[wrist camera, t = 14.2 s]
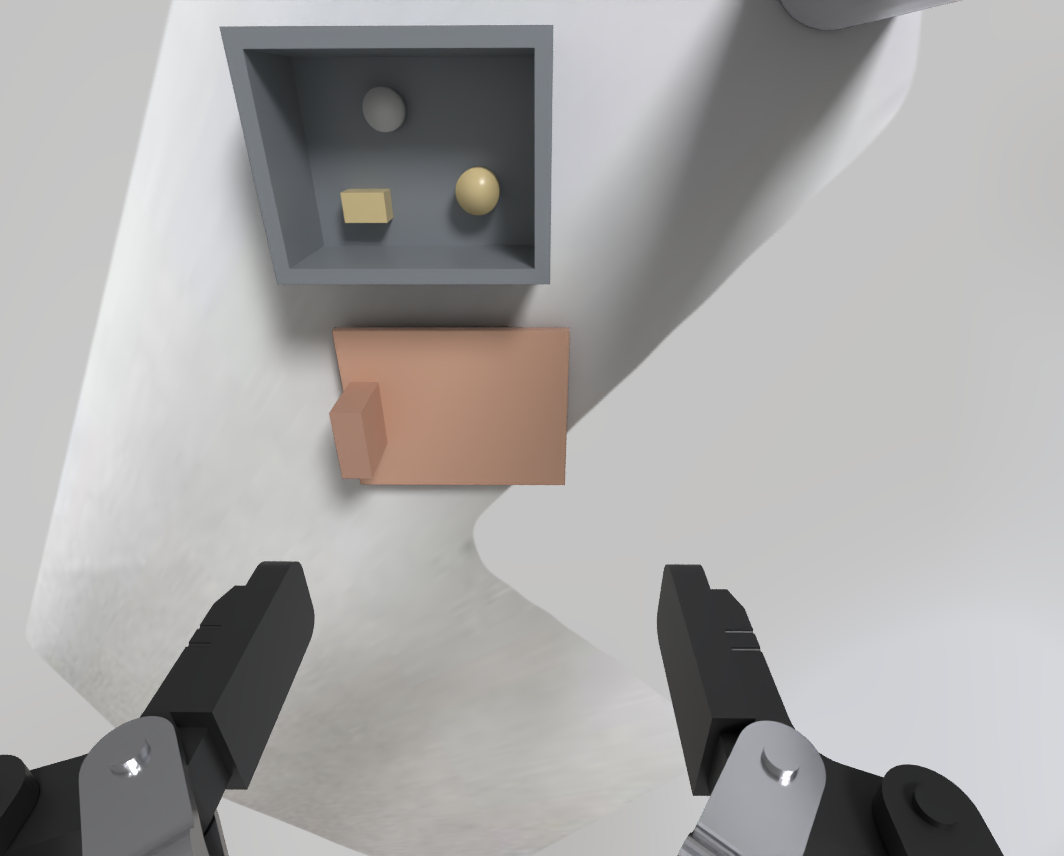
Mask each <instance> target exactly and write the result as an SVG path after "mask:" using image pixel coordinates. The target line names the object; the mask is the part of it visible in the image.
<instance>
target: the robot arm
mask: <svg viewBox="0 0 1064 856" xmlns="http://www.w3.org/2000/svg"><path fill="white" fill-rule="evenodd" d="M780 1H781V3H782V4H783V6H784V8H785V9H786V10H787V11H788V12H789V13H790V14H791V15H792V16H793V17H794V18H795V19H796V20H797V21H799V22H801V23H803V24H804V25H806V26H808V27H812V28H816V29H820V30H838V29H842V28H846V27H850V26H855V25H859V24H863V23H868V22H873V21H877V20H882V19H886V18H890V17H894V16H898V15H903V14H907V13H911V12H915V11H919V10H923V9H927V8H931V7H936V6H940V5H944V4H948V3H952V2H957V1H960V0H780ZM313 628H314V609H313V605H312V601H311V598H310V594H309V590H308V587H307V583H306V579H305V576H304V572H303V568H302V566H301V564H300V563H299V562H287V561H264V562H261V563H260V564H259V565H258V566H257V568H256V569H255V571H254V573H253V574H252V576H251V578H250V579H249V581H248V583H247V584H246V586H234V587H233V588H232V589H231V590H229V591H228V592H227V593H226V594H225V595H223V596H222V597H221V598H220V599H219V600H218V601H216V602H215V603H214V604H213V606H212V607H211V609H210V610H209V612H208V613H207V615H206V617H205V618H204V620H203V621H202V623H201V624H200V629H197V630H196V632H195V634H194V635H193V637H192V638H191V640H190V641H189V646H188V647H185V649H184V651H183V652H182V654H181V655H180V657H179V658H178V660H177V661H176V663H175V664H174V666H173V668H172V669H171V671H170V672H169V674H168V675H167V677H166V678H165V680H164V681H163V683H162V685H161V686H160V688H159V689H158V691H157V692H156V694H155V695H154V697H153V698H152V700H151V702H150V703H149V705H148V706H147V708H146V709H145V711H144V712H143V714H142V715H141V716H140V718H137V719H134V720H131V721H129V722H126V723H124V724H122V725H120V726H119V727H117V728H115V729H114V730H112V731H111V732H109V733H108V734H107V735H105V736H104V737H103V738H102V739H101V740H100V741H99V742H98V743H97V744H96V745H95V746H94V747H93V748H92V749H91V751H90V752H89V753H88V754H85V755H82V756H79V757H75V758H72V759H68V760H65V761H61V762H58V763H54V764H51V765H47V766H44V767H40V768H37V769H33V770H30V771H29V769H28V768H27V767H26V765H25V764H24V763H23V762H22V760H21V759H19V758H18V757H16V756H12V755H0V856H229V855H228V851H227V847H226V843H225V839H224V835H223V831H222V827H221V823H220V819H219V815H218V812H217V810H216V808H217V806H218V804H219V802H220V800H221V797H222V795H223V793H224V791H225V789H244V790H247V789H248V786H249V784H250V782H251V779H252V777H253V774H254V772H255V770H256V767H257V765H258V763H259V760H260V758H261V756H262V753H263V751H264V748H265V746H266V744H267V741H268V739H269V737H270V734H271V732H272V730H273V727H274V725H275V722H276V720H277V718H278V715H279V713H280V711H281V708H282V706H283V704H284V701H285V699H286V697H287V694H288V692H289V689H290V687H291V685H292V682H293V680H294V678H295V675H296V673H297V671H298V668H299V666H300V663H301V661H302V659H303V656H304V654H305V652H306V649H307V647H308V645H309V642H310V640H311V637H312V633H313ZM657 632H658V640H659V645H660V650H661V654H662V659H663V663H664V667H665V672H666V677H667V681H668V685H669V690H670V695H671V699H672V704H673V708H674V713H675V717H676V722H677V726H678V731H679V735H680V740H681V744H682V749H683V753H684V758H685V762H686V767H687V771H688V776H689V780H690V785H691V789H692V794H693V796H710V798H709V800H708V802H707V804H706V807H705V809H704V811H703V813H702V815H701V817H700V819H699V821H698V823H697V825H696V827H695V829H694V831H693V832H692V833H690V834H689V835H688V837H687V838H686V840H685V842H684V844H683V845H682V847H681V849H680V851H679V854H678V855H677V856H1004V855H1003V854H1002V852H1001V850H1000V848H999V846H998V845H997V843H996V841H995V839H994V837H993V836H992V834H991V832H990V830H989V829H988V827H987V825H986V823H985V822H984V820H983V818H982V816H981V814H980V813H979V811H978V810H977V808H976V806H975V805H974V804H973V802H972V801H971V800H970V799H969V798H968V796H967V795H966V794H965V793H964V792H963V791H962V790H961V789H960V788H959V787H957V786H956V785H955V784H954V783H952V782H951V781H950V780H948V779H947V778H945V777H944V776H942V775H940V774H938V773H936V772H935V771H932V770H930V769H927V768H924V767H921V766H917V765H899V766H896V767H894V768H892V769H890V770H889V771H888V772H887V773H886V775H885V776H884V778H883V777H880V776H877V775H874V774H871V773H867V772H864V771H861V770H858V769H855V768H852V767H849V766H846V765H843V764H840V763H838V762H835V761H832V760H831V759H829V758H827V757H825V756H823V755H822V754H820V753H818V751H817V750H816V749H815V747H814V746H813V745H812V744H811V742H810V741H809V740H808V739H807V738H806V737H804V736H803V735H802V734H801V733H799V732H798V731H796V730H795V728H794V727H793V725H792V724H791V721H790V719H789V717H788V715H787V712H786V710H785V707H784V705H783V702H782V700H781V697H780V695H779V693H778V690H777V688H776V685H775V683H774V680H773V678H772V675H771V673H770V670H769V668H768V666H767V663H766V660H765V658H764V656H763V653H762V652H761V651H760V646H759V643H758V641H757V638H756V636H755V634H753V628H752V626H751V624H750V621H749V619H748V616H747V614H746V611H745V609H744V608H743V606H742V605H741V604H740V603H739V602H738V601H737V600H736V599H735V598H734V597H733V596H732V594H730V592H729V591H728V590H725V589H722V590H721V589H718V590H717V589H710V586H709V584H708V581H707V578H706V575H705V572H704V570H703V568H702V566H701V565H665V568H664V572H663V579H662V585H661V592H660V599H659V605H658V613H657Z"/></svg>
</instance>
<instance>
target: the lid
mask: <svg viewBox="0 0 1064 856" xmlns="http://www.w3.org/2000/svg"><path fill="white" fill-rule="evenodd" d="M332 332H333V338H334V343H335V349H336V354H337V359H338V365H339V370H340V376H341V381H342V386H343V393H342V395H341V396H340V398H339V399H338V401H337V402H336V404H335V405H334V407H333V408H332V410H331V411H330V413H329V414H330V419H331V424H332V429H333V434H334V439H335V444H336V449H337V454H338V459H339V464H340V469H341V473H342V478H360V484H392V485H565V464H566V461H565V460H566V432H567V400H568V368H569V336H570V330H569V328H334V329H333V331H332Z"/></svg>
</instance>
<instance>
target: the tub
mask: <svg viewBox="0 0 1064 856" xmlns="http://www.w3.org/2000/svg"><path fill="white" fill-rule="evenodd" d="M220 31H221V36H222V40H223V45H224V49H225V53H226V58H227V62H228V67H229V71H230V76H231V80H232V84H233V89H234V93H235V98H236V102H237V107H238V111H239V115H240V120H241V124H242V129H243V133H244V138H245V142H246V146H247V151H248V155H249V160H250V164H251V169H252V173H253V177H254V182H255V186H256V191H257V195H258V200H259V204H260V209H261V213H262V217H263V222H264V226H265V231H266V235H267V240H268V244H269V248H270V253H271V257H272V262H273V266H274V271H275V275H276V279H277V284H550V235H551V157H552V78H553V25H469V26H252V27H220Z"/></svg>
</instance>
